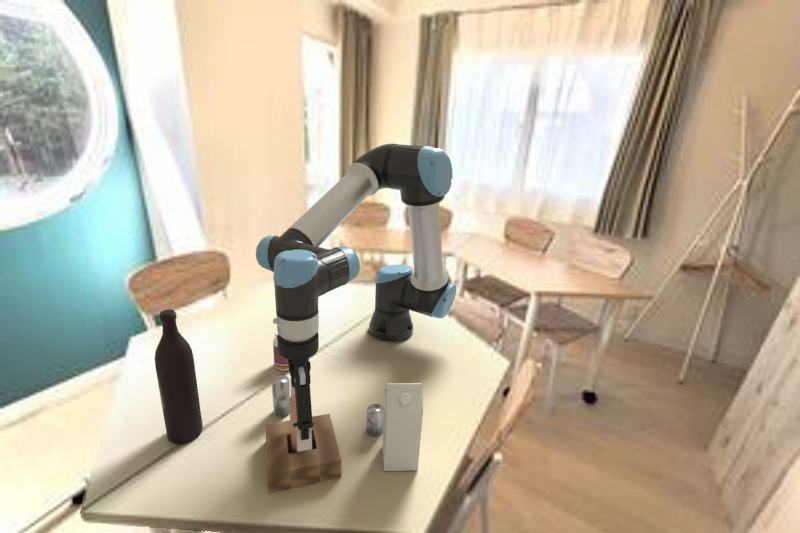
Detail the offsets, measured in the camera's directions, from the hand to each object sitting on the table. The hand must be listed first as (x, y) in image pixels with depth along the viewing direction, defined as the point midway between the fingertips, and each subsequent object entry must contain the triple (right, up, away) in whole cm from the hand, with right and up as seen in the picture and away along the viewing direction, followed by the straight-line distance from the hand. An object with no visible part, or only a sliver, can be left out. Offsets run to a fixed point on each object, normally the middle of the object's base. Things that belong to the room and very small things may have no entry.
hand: (300, 424), depth 84 cm
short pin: (+14, -6, +12) cm, 20 cm away
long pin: (-1, -8, +3) cm, 9 cm away
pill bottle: (-13, +4, +35) cm, 37 cm away
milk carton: (+20, -9, +4) cm, 22 cm away
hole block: (-1, -8, +3) cm, 9 cm away
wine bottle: (-28, -5, +8) cm, 29 cm away
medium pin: (-8, -3, +16) cm, 18 cm away
